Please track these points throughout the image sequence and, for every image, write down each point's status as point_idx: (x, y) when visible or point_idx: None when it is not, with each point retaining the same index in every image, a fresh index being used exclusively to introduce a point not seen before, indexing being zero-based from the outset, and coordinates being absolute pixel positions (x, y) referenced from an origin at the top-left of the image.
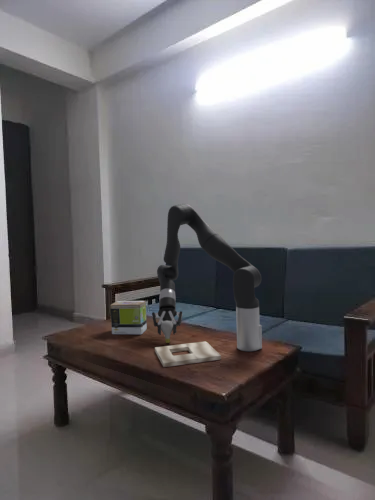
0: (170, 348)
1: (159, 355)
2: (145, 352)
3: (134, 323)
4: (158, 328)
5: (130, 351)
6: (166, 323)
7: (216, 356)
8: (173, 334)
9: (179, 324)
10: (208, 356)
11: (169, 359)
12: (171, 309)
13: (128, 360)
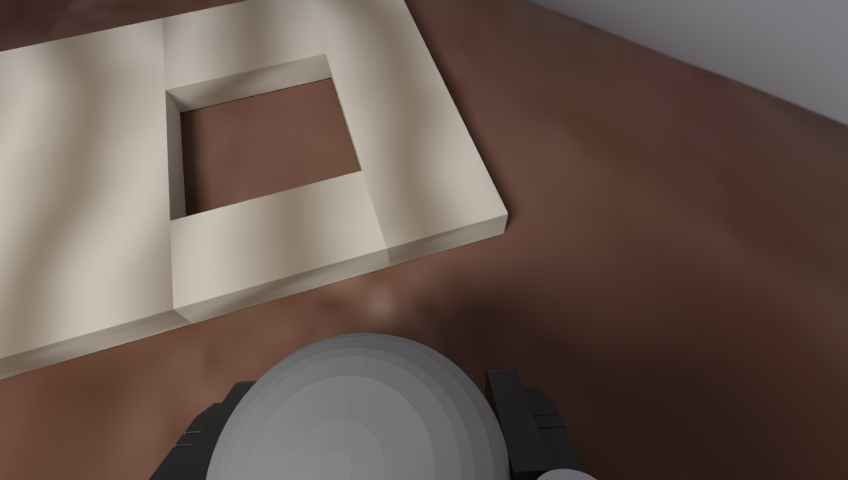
0: (346, 183)
1: (431, 59)
2: (586, 207)
3: None
4: (549, 435)
5: (750, 235)
6: (352, 353)
7: (24, 50)
8: None
9: None
10: (79, 41)
11: (353, 7)
12: None
13: (658, 72)
